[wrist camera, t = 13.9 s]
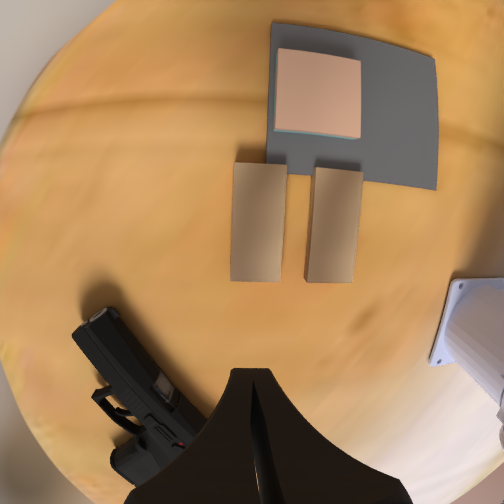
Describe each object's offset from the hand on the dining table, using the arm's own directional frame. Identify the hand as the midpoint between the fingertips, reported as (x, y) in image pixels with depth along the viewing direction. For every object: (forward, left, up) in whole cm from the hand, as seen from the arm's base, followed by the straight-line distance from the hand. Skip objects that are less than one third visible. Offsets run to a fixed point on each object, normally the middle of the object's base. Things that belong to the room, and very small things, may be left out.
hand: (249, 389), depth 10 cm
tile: (-6, -13, -9) cm, 17 cm away
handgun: (+9, +11, -11) cm, 18 cm away
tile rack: (-3, -5, -10) cm, 11 cm away
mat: (-7, -13, -10) cm, 17 cm away
